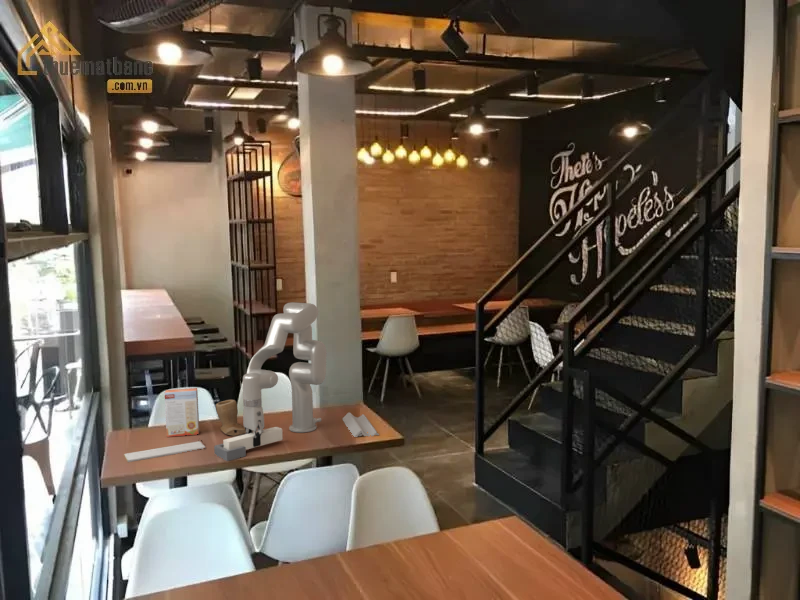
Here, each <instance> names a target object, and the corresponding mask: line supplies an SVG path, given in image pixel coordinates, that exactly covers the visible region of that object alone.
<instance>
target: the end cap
mask: <svg viewBox="0 0 800 600" xmlns="http://www.w3.org/2000/svg"><path fill="white" fill-rule="evenodd" d="M213 449H214V453H213V454H214V455H215V454H216V455H217V456H216V455H215V456H216V457H218V456H219V457H218V458H220V457H221V458H220V459H222V458H223V459H222V460H223V461H226V462H229V461H234V460H237V459H240V457H241V458H244V457H246V456H247V453H246V451H247V450H246V447H245V446H242V447H238V448H234V449H230V450H228V449H225V448H224V443H219V444H216V445H214V448H213Z"/></svg>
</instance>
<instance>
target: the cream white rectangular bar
mask: <svg viewBox="0 0 800 600" xmlns="http://www.w3.org/2000/svg"><path fill="white" fill-rule="evenodd" d="M257 432H258V431H256V433H257ZM253 437H254V433H249V434H246V433H244V434H241V435H237V436H232V437H229V438H226V439H223V443H224V448H225V449H228V450H230V449H234V448H238V447H242V446H245V447H246V451H247V450H249V449H253V448H257V447H261V446H265V445H268V444H272V443H275V442H280V441H283V428H281V427H279V426H274V427H269V428H264V429H263V433H262V434H261V437H260V441H261V445H260V446H256V447H254V446H253ZM223 443H222V444H223Z"/></svg>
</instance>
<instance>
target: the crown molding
mask: <svg viewBox="0 0 800 600" xmlns="http://www.w3.org/2000/svg"><path fill="white" fill-rule="evenodd" d="M342 421H343V423H344V424H345V427H346V428H347V427H348V428H347V430H348V431H349V430H350V431H349V433H350V432H351V433H352V434H351V433H350V434H351V436H352V435H353V436H354V437H357V438H358V437H362V436H364V437H365V436H368V437H374V435H375V436H380V433H377V432H378V431H377V429H376V428H375V427H374V425H373V424H372V423H371V421H370V420H369V419H368V417H367V416H366V415H365V414H364V413H363V414H361V415H360V416H358V417H357V416H354V415H353V414H352V413H351V412H350V411H349V412H347V413H346V415H344V417H342ZM367 432H368V433H367ZM370 435H371V436H370ZM353 436H352V437H353Z"/></svg>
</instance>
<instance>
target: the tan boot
mask: <svg viewBox="0 0 800 600" xmlns="http://www.w3.org/2000/svg"><path fill="white" fill-rule="evenodd" d="M215 410H216V413H217V416H218V419H219V420H220V422H221V425H222V426H220V431H221V432H222V433H224V434H225V435H227V436H232V437H237V436H241V435H244V434H246V430H245V427H244V426H243V424H241V423H238V413H239V410H238V404H237V401H236V400H235V399H226V400H223V401H219V402H217V403H216V404H215Z"/></svg>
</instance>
